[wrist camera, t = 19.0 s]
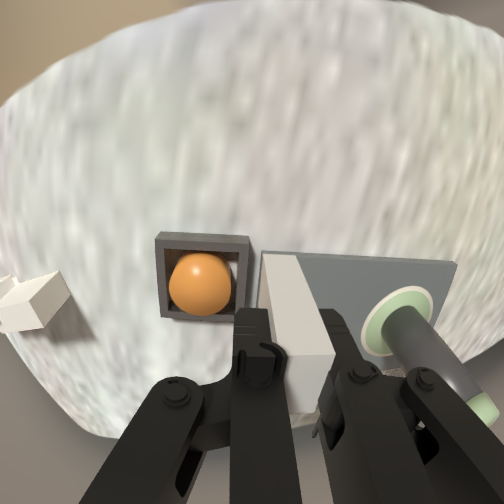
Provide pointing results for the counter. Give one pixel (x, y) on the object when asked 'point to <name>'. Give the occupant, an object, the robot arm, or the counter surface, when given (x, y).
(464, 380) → the marker
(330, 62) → the counter surface
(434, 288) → the board
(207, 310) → the button
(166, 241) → the button housing
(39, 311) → the white block piece
